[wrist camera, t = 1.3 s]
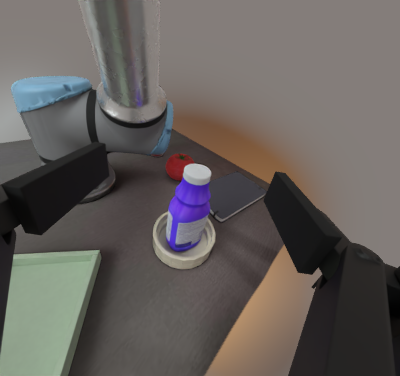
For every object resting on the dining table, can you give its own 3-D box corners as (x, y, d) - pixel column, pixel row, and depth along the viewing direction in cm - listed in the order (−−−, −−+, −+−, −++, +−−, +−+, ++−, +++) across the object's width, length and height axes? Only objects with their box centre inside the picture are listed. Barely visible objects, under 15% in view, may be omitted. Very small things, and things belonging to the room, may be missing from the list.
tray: (-2, 264, 27) (-12, 255, 25) (101, 257, 30) (99, 249, 29) (-149, 459, 14) (-186, 466, 13) (58, 409, 18) (49, 410, 16)
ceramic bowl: (154, 218, 39) (154, 208, 37) (205, 218, 42) (208, 208, 40) (151, 272, 30) (151, 262, 27) (217, 267, 33) (222, 257, 30)
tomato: (199, 179, 54) (203, 157, 49) (178, 189, 48) (181, 165, 43) (180, 166, 58) (183, 144, 53) (159, 174, 52) (159, 151, 47)
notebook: (235, 174, 60) (188, 193, 48) (237, 170, 60) (189, 189, 47) (266, 195, 54) (220, 223, 41) (268, 191, 53) (221, 219, 40)
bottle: (191, 224, 39) (207, 157, 28) (204, 244, 36) (228, 176, 25) (161, 235, 35) (166, 163, 25) (172, 258, 32) (184, 186, 21)
